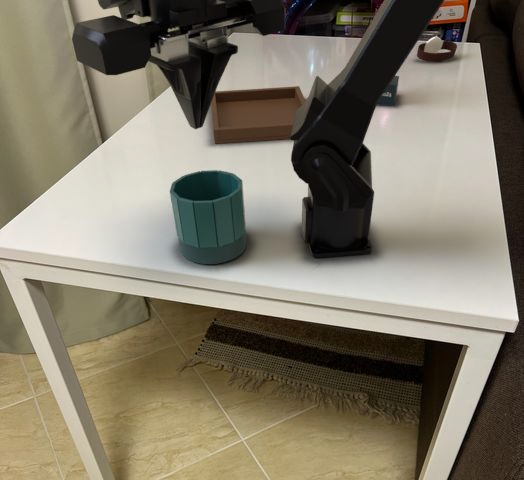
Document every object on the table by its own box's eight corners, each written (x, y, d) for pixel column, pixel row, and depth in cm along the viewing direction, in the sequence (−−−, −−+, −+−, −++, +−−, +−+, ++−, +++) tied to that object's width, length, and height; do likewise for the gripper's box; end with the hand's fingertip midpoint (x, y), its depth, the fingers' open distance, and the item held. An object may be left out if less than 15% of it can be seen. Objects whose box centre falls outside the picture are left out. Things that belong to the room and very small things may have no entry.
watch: (357, 107, 87) (365, 30, 80) (364, 90, 93) (371, 16, 85) (393, 110, 86) (404, 32, 79) (397, 92, 92) (408, 17, 84)
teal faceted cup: (228, 223, 63) (258, 251, 59) (170, 241, 61) (197, 271, 56) (222, 164, 59) (254, 189, 54) (159, 181, 56) (187, 209, 51)
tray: (298, 98, 91) (299, 86, 90) (314, 137, 80) (315, 123, 78) (211, 104, 90) (209, 91, 89) (214, 143, 79) (213, 130, 77)
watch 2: (447, 53, 106) (451, 32, 104) (460, 60, 103) (464, 38, 101) (411, 57, 105) (414, 36, 103) (422, 64, 102) (426, 43, 99)
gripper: (210, -93, 51) (222, 83, 62) (17, -70, 43) (70, 129, 54) (290, -85, 45) (288, 110, 56) (83, -55, 36) (128, 167, 47)
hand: (196, 127), depth 53 cm, fingers closed
